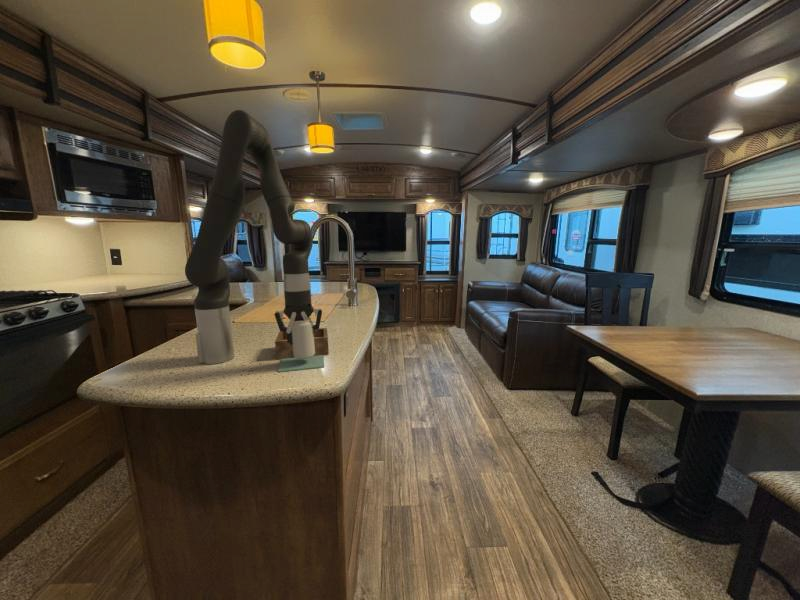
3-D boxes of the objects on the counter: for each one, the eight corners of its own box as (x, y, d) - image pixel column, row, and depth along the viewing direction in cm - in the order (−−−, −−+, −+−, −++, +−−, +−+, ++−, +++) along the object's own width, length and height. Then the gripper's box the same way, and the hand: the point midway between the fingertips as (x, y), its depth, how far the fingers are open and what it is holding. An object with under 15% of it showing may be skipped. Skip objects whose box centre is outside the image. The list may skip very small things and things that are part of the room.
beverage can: (309, 360, 91) (306, 321, 89) (289, 359, 92) (285, 321, 90) (318, 353, 97) (316, 316, 95) (300, 352, 99) (297, 316, 96)
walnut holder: (276, 359, 98) (275, 341, 97) (280, 347, 110) (279, 331, 109) (328, 354, 103) (327, 337, 102) (327, 343, 114) (326, 327, 113)
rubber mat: (278, 372, 89) (277, 371, 89) (281, 359, 98) (281, 358, 98) (324, 367, 92) (324, 366, 92) (323, 356, 101) (323, 354, 101)
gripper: (269, 291, 86) (274, 349, 89) (322, 289, 89) (325, 345, 92) (273, 287, 93) (277, 341, 96) (322, 285, 96) (324, 337, 99)
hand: (301, 343), depth 94 cm, fingers closed on beverage can, 5 cm apart
